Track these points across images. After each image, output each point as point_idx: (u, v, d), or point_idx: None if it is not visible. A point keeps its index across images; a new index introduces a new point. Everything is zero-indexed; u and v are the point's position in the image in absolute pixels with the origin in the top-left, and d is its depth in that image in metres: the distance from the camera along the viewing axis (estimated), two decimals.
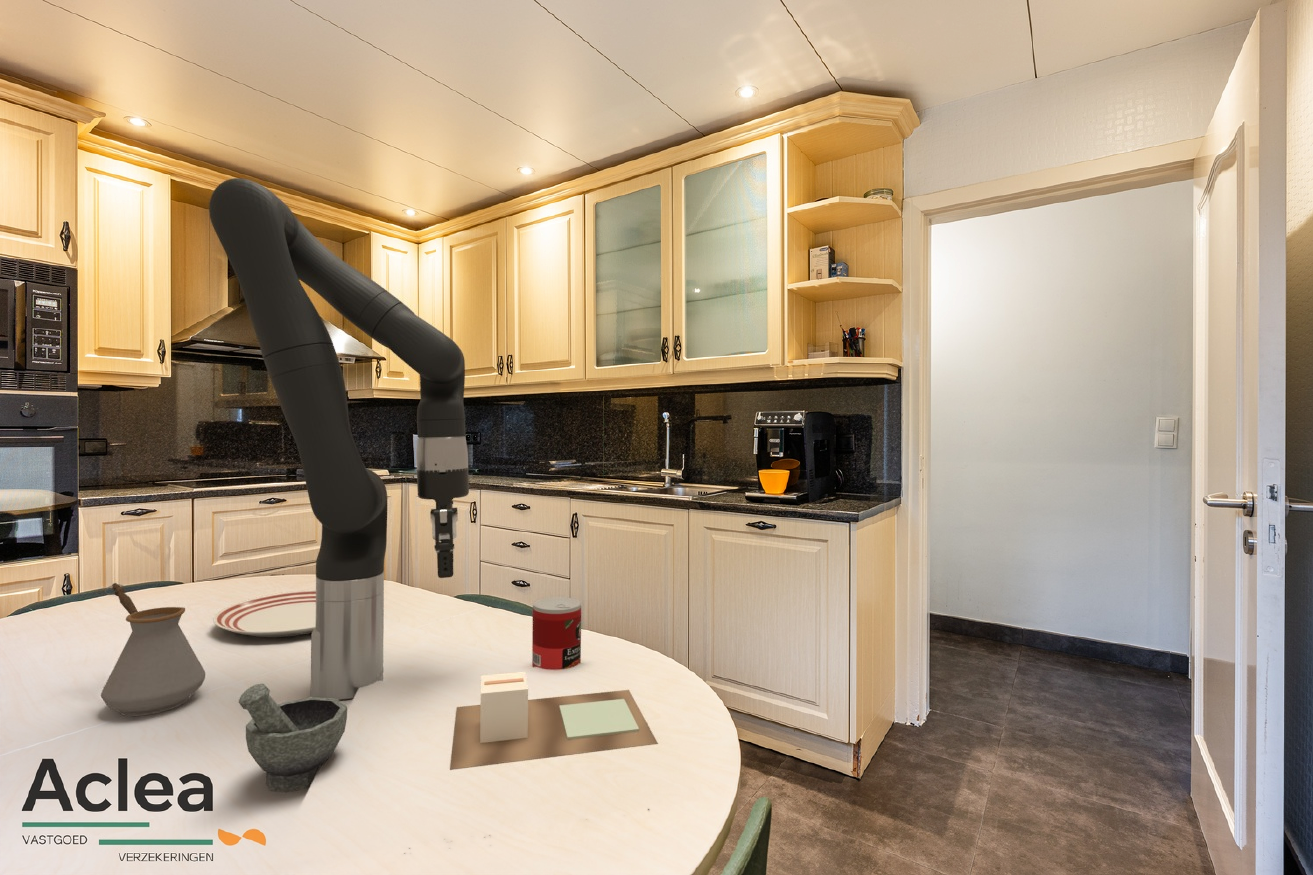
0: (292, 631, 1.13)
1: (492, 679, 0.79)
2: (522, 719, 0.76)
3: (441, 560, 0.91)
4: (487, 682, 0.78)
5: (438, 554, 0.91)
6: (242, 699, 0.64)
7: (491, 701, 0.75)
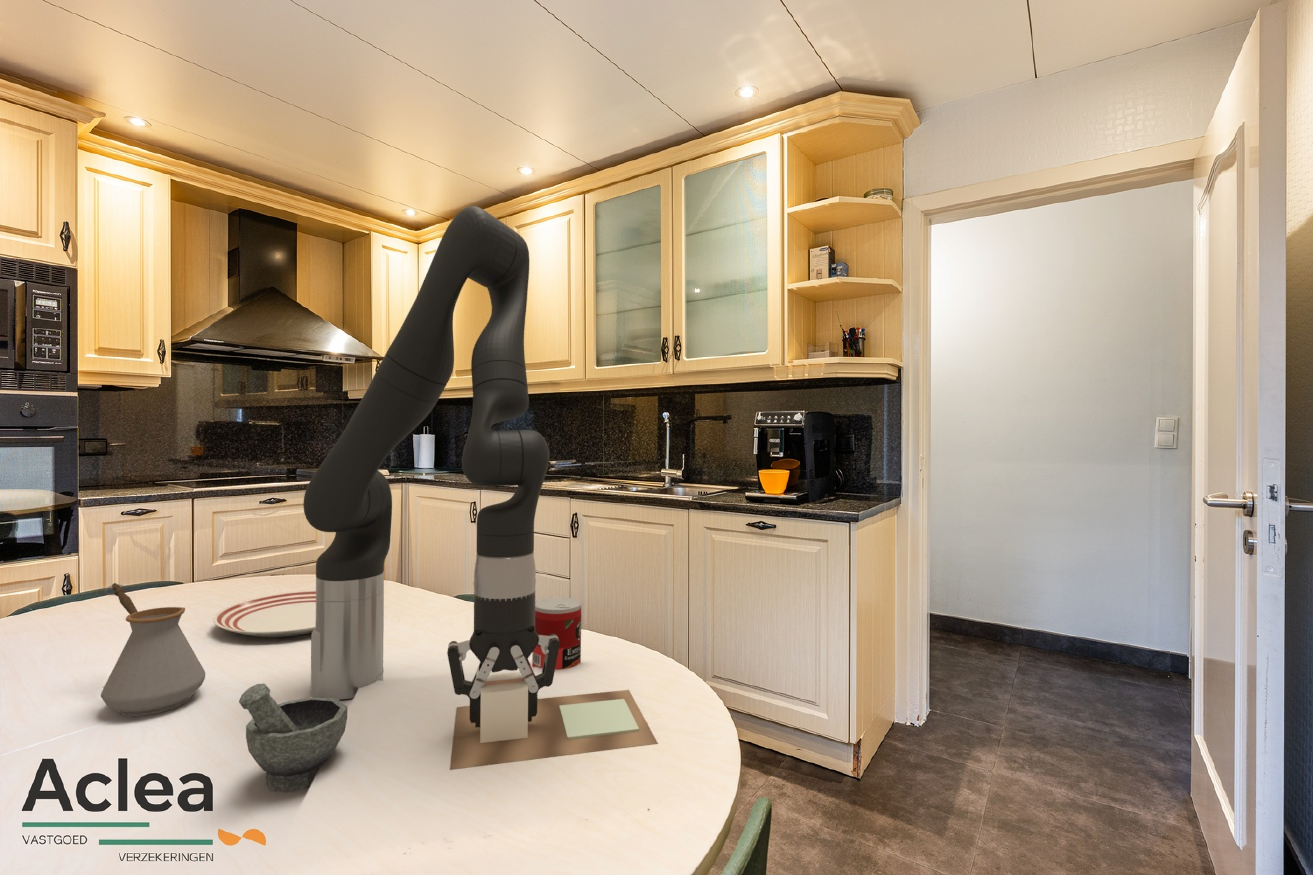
0: (292, 631, 1.13)
1: (492, 679, 0.79)
2: (522, 719, 0.76)
3: None
4: (487, 682, 0.78)
5: (531, 694, 0.78)
6: (242, 698, 0.64)
7: (491, 701, 0.75)
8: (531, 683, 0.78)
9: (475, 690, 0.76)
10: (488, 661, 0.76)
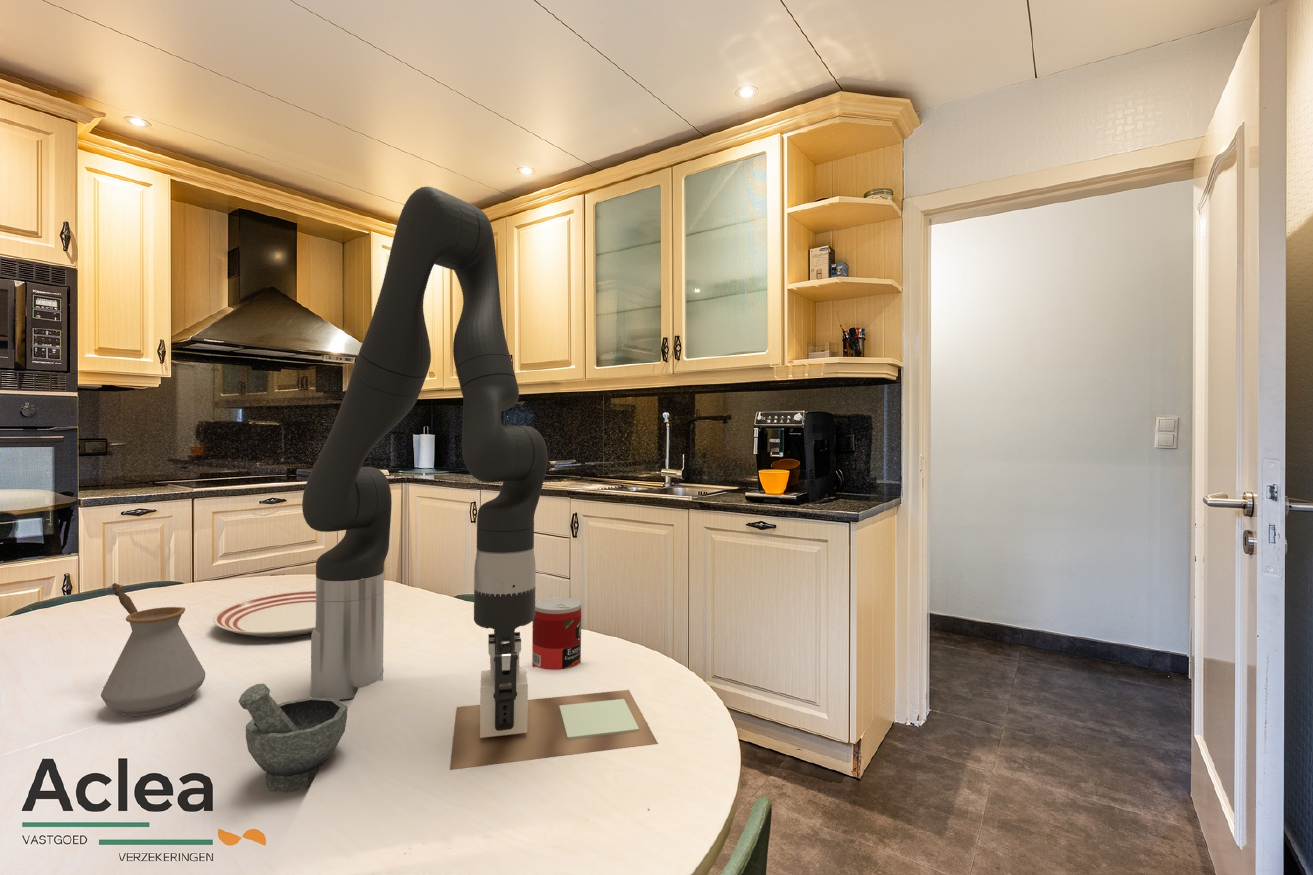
0: (292, 631, 1.13)
1: (494, 682, 0.77)
2: None
3: None
4: None
5: None
6: (242, 698, 0.64)
7: None
8: None
9: None
10: None
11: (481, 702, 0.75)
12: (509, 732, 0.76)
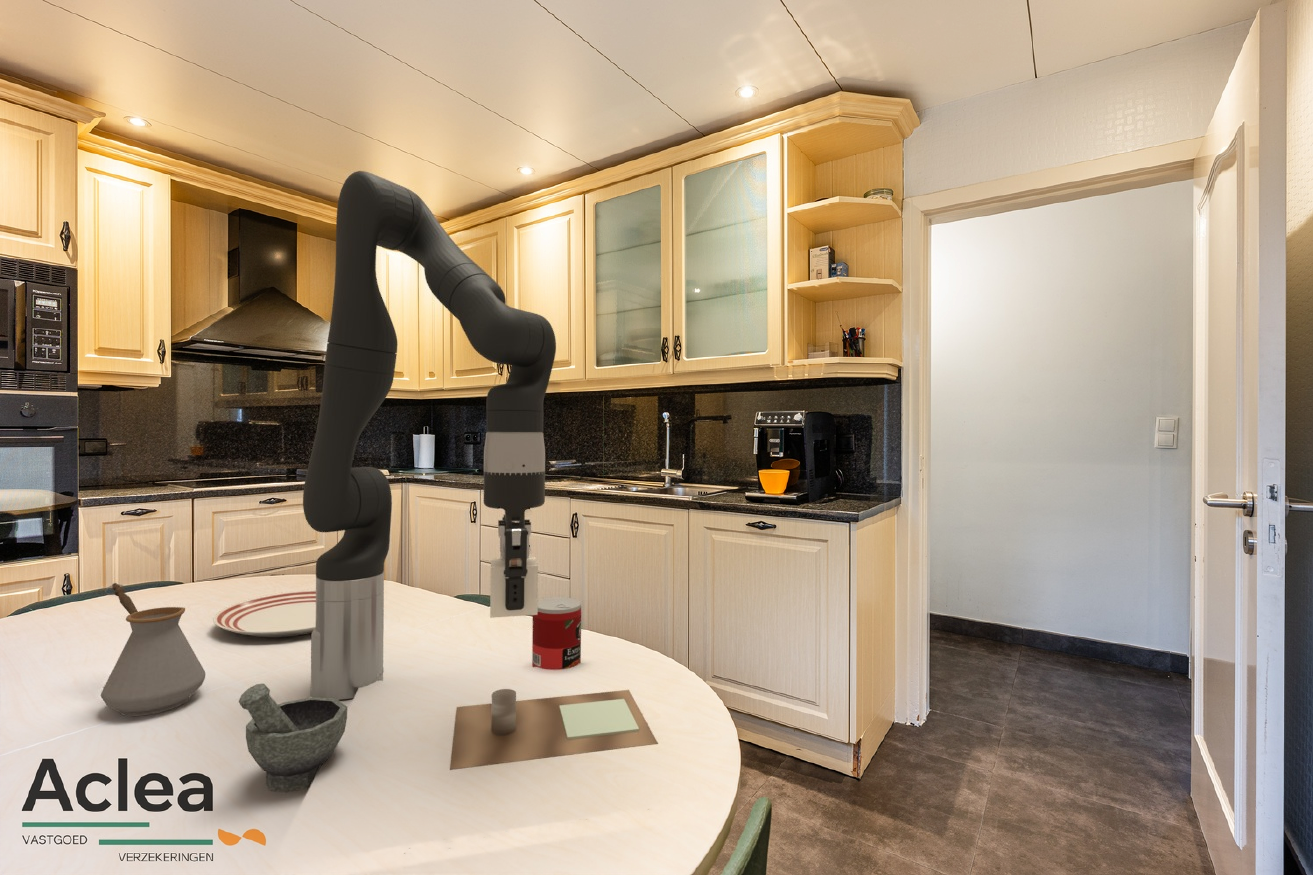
0: (292, 631, 1.13)
1: (504, 564, 0.76)
2: None
3: None
4: (514, 564, 0.76)
5: None
6: (242, 699, 0.64)
7: None
8: None
9: None
10: None
11: (491, 582, 0.75)
12: (519, 613, 0.75)
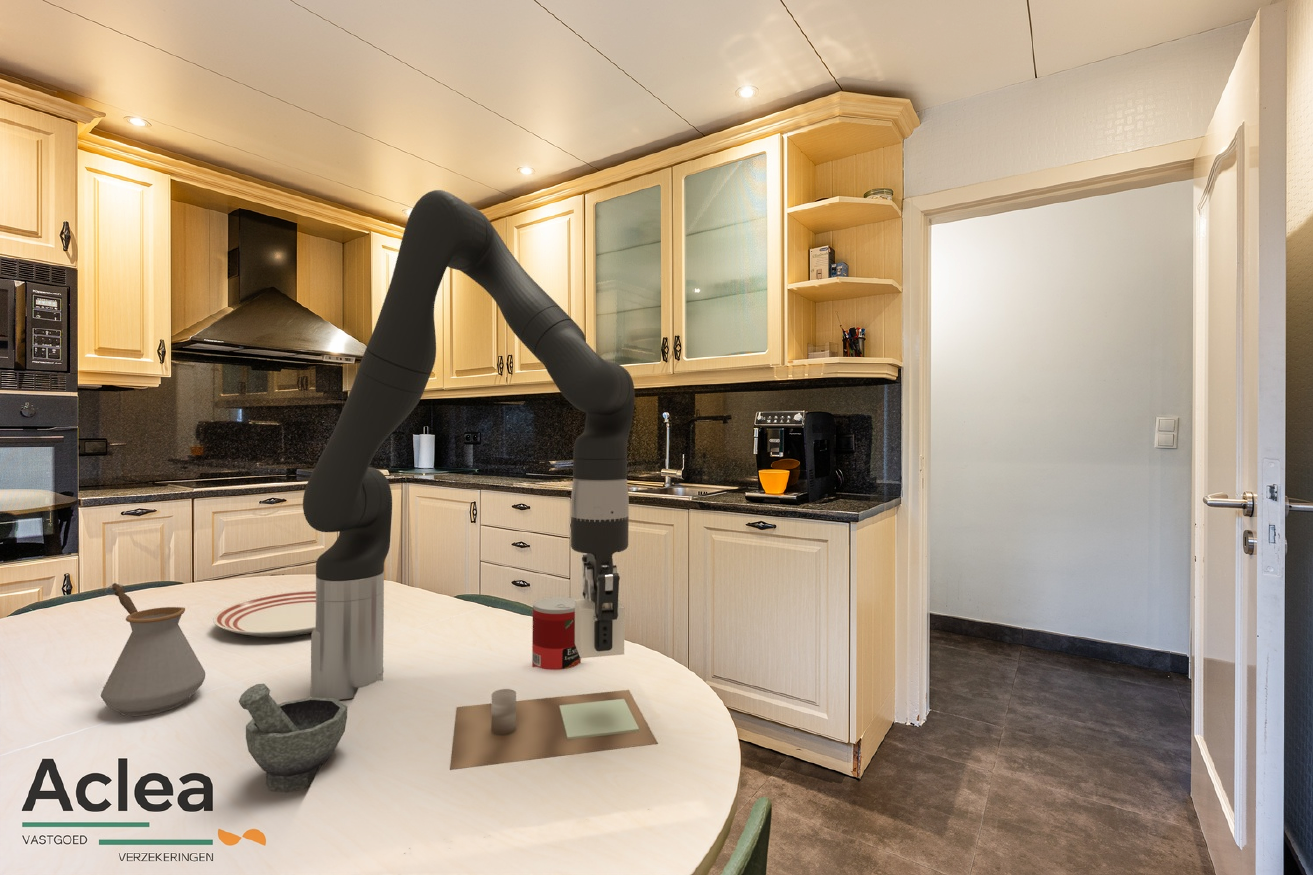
0: (292, 631, 1.13)
1: (592, 606, 0.80)
2: None
3: None
4: (602, 606, 0.79)
5: None
6: (242, 699, 0.64)
7: None
8: None
9: None
10: None
11: (581, 624, 0.78)
12: (607, 653, 0.79)
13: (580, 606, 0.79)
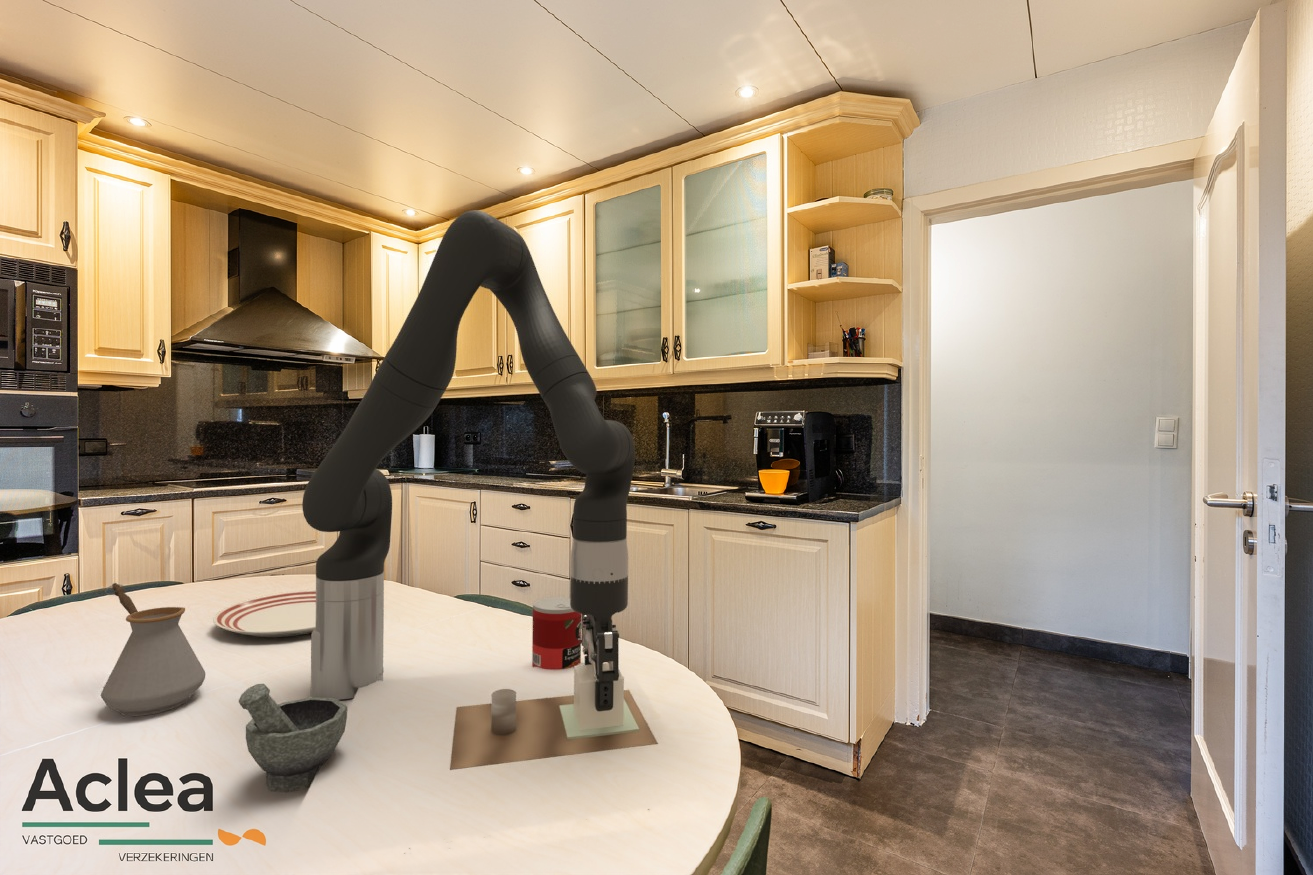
0: (292, 631, 1.13)
1: (591, 676, 0.79)
2: None
3: None
4: None
5: None
6: (242, 699, 0.64)
7: None
8: None
9: None
10: None
11: (581, 696, 0.78)
12: (606, 725, 0.78)
13: (579, 676, 0.79)
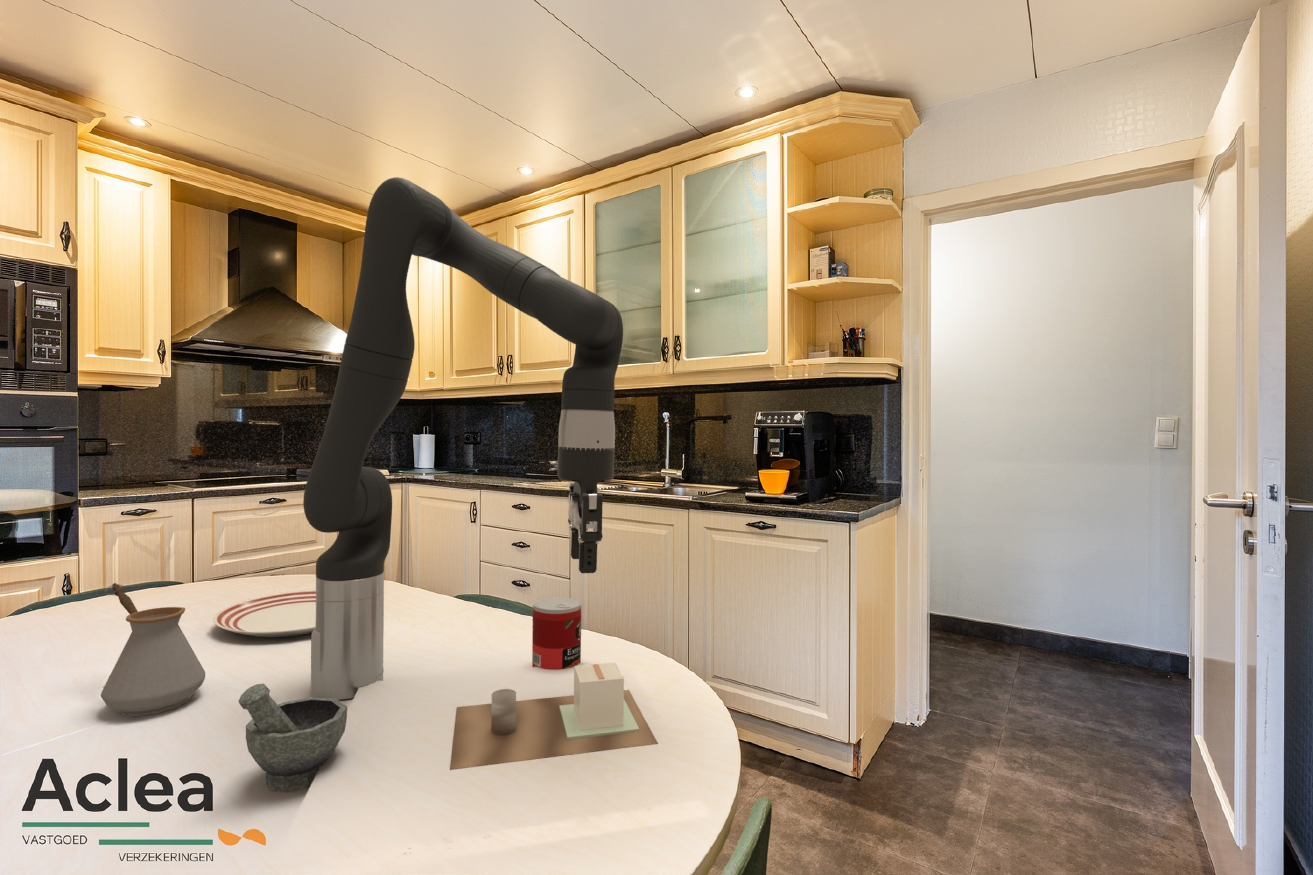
0: (292, 631, 1.13)
1: (591, 676, 0.79)
2: None
3: None
4: (601, 676, 0.79)
5: None
6: (242, 699, 0.64)
7: None
8: None
9: None
10: None
11: (581, 696, 0.78)
12: (606, 725, 0.78)
13: (579, 676, 0.79)
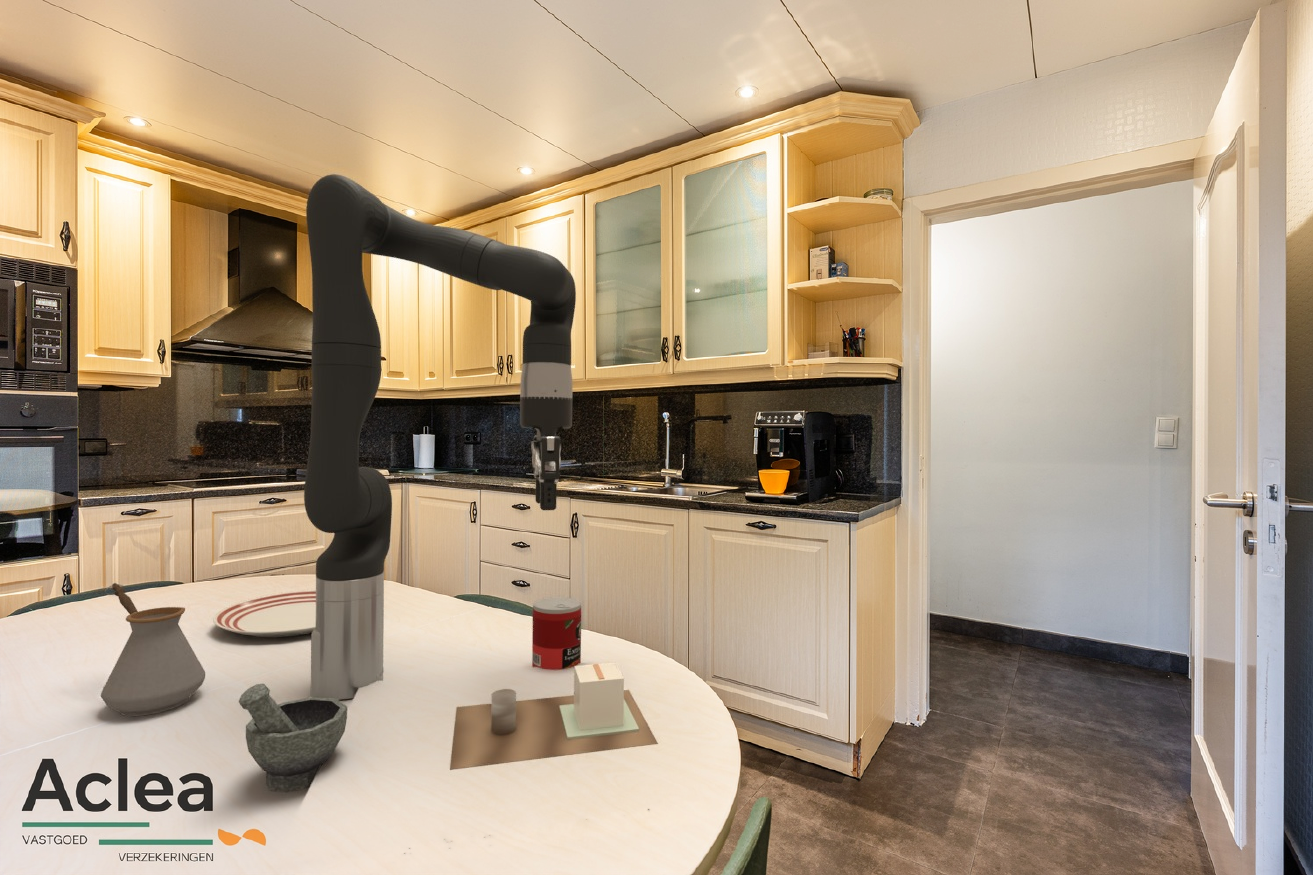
0: (292, 631, 1.13)
1: (591, 676, 0.79)
2: None
3: None
4: (601, 676, 0.79)
5: None
6: (242, 699, 0.64)
7: None
8: None
9: None
10: None
11: (581, 696, 0.78)
12: (606, 725, 0.78)
13: (579, 676, 0.79)
